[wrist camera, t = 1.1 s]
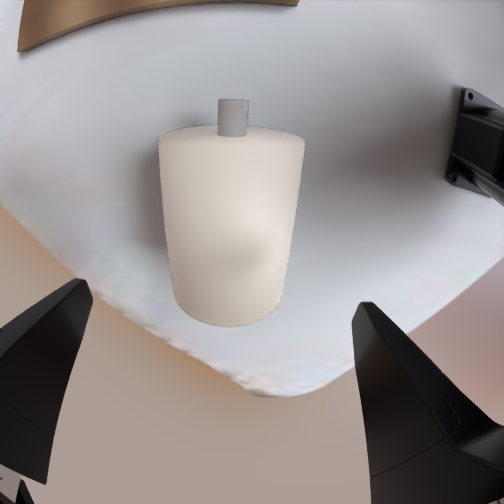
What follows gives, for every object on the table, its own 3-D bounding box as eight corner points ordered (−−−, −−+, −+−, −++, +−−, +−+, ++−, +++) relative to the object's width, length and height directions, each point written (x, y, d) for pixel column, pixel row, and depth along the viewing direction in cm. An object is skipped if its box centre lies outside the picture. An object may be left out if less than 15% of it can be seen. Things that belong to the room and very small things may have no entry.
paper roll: (298, 102, 12) (324, 112, 7) (277, 275, 18) (281, 348, 13) (181, 97, 12) (131, 107, 7) (188, 269, 18) (165, 339, 13)
